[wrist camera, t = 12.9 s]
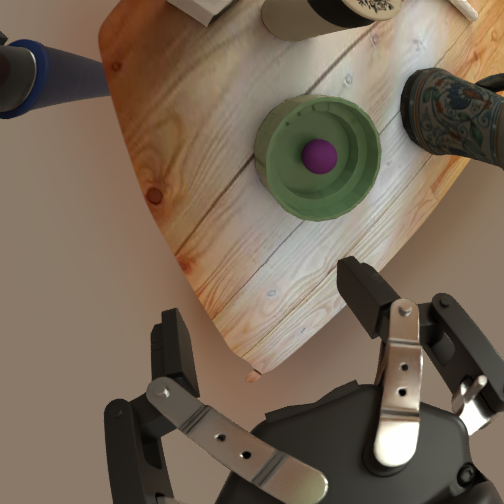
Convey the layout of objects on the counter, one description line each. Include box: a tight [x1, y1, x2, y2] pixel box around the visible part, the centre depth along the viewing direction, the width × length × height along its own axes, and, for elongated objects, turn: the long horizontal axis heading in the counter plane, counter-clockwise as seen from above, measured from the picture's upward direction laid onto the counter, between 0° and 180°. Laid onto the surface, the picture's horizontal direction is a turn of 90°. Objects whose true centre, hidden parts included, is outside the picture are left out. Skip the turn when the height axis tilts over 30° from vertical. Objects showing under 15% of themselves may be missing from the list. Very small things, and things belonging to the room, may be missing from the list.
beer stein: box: [400, 68, 504, 170], centre depth 29 cm, size 16×19×25 cm
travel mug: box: [262, 0, 402, 41], centre depth 21 cm, size 8×8×18 cm
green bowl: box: [254, 94, 381, 222], centre depth 37 cm, size 17×17×6 cm
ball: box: [302, 139, 338, 174], centre depth 37 cm, size 5×5×5 cm
